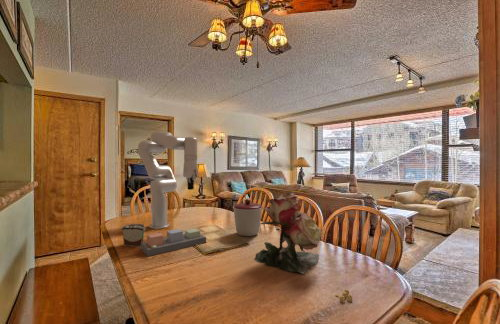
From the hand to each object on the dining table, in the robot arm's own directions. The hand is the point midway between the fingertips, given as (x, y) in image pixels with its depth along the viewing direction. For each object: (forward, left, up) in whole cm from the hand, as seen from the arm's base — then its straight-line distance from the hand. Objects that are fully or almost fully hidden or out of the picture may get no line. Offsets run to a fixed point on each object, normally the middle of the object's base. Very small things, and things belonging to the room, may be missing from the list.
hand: (190, 189), depth 142 cm
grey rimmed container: (-4, -29, -27) cm, 40 cm away
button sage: (+11, -4, -26) cm, 29 cm away
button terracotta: (+11, -24, -25) cm, 36 cm away
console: (+11, -14, -27) cm, 32 cm away
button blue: (+11, -14, -25) cm, 30 cm away
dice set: (+91, +11, -28) cm, 96 cm away
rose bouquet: (+60, +21, -27) cm, 69 cm away
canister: (+19, +28, -27) cm, 43 cm away
